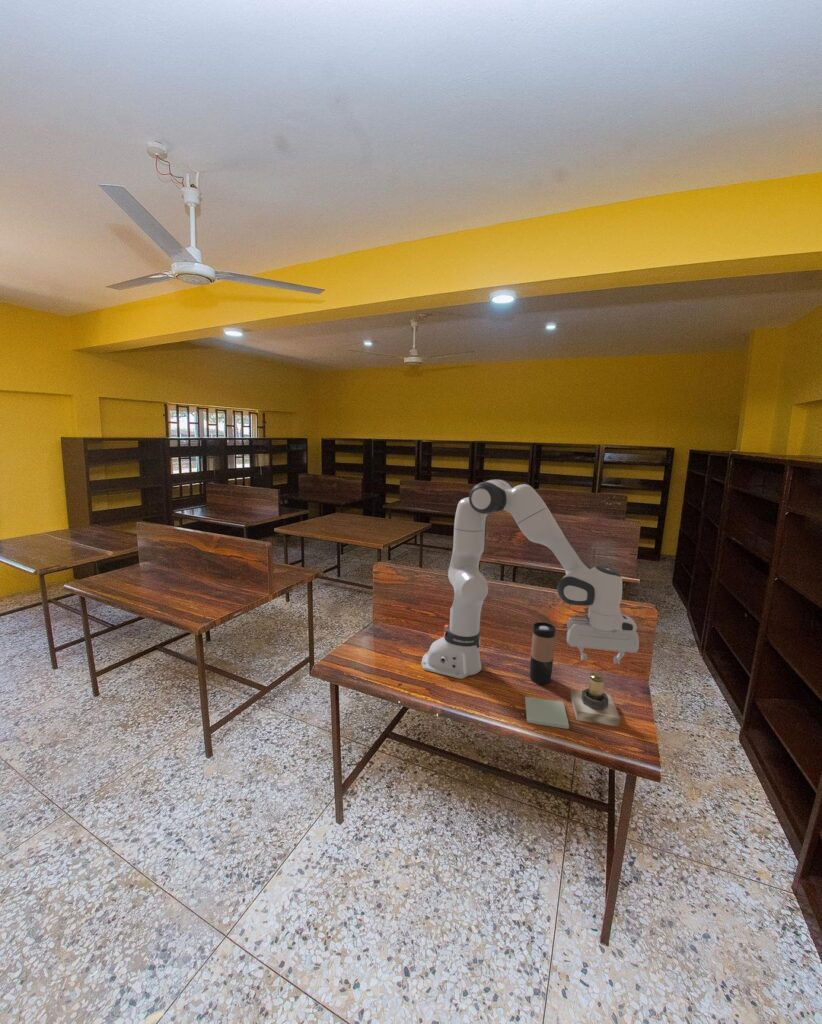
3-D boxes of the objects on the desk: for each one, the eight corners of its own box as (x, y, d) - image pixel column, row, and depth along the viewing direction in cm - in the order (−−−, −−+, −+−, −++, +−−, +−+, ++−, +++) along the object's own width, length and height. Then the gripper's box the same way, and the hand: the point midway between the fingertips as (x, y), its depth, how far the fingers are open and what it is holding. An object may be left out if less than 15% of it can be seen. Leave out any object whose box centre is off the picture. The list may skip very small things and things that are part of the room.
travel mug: (550, 675, 152) (554, 623, 149) (552, 686, 145) (557, 632, 142) (528, 672, 154) (532, 621, 151) (529, 683, 147) (533, 629, 144)
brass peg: (588, 705, 130) (591, 678, 129) (586, 697, 134) (588, 671, 133) (602, 707, 129) (605, 680, 128) (599, 699, 133) (602, 673, 132)
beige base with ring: (576, 720, 127) (578, 703, 127) (570, 697, 139) (572, 682, 138) (619, 726, 125) (621, 709, 124) (609, 703, 137) (610, 687, 136)
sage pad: (526, 722, 126) (527, 719, 126) (524, 699, 137) (525, 696, 137) (568, 729, 123) (569, 726, 123) (563, 705, 135) (563, 702, 135)
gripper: (569, 620, 126) (566, 662, 128) (642, 626, 122) (638, 670, 124) (566, 612, 132) (563, 652, 135) (636, 618, 128) (632, 660, 130)
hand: (599, 661), depth 129 cm, fingers open, 8 cm apart
